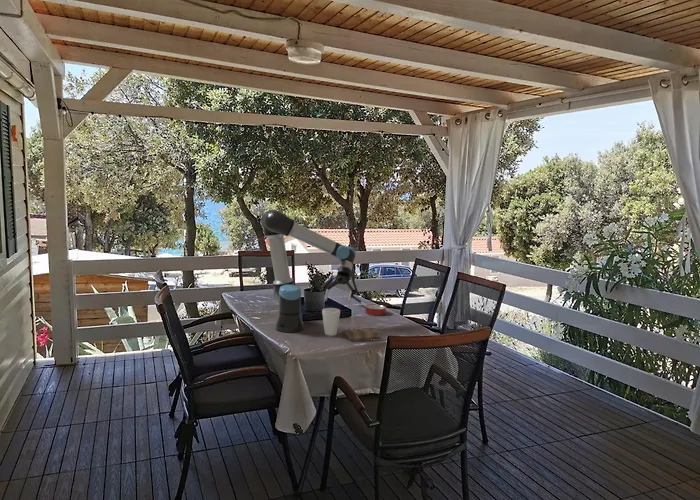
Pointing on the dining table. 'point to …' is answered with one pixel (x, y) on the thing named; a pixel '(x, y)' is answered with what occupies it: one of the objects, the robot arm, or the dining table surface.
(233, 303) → the dining table surface
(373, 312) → the frying pan
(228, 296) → the dining table surface
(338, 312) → the foam cup
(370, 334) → the walnut board
